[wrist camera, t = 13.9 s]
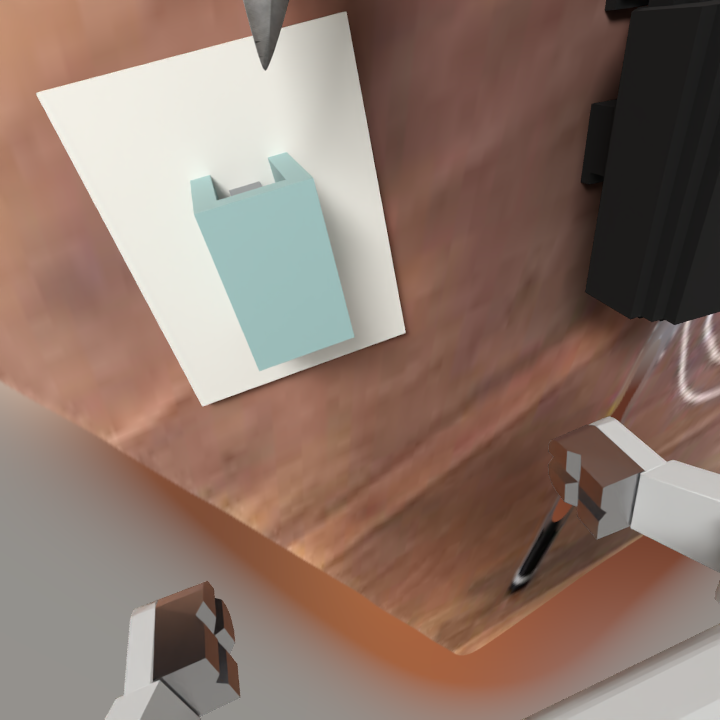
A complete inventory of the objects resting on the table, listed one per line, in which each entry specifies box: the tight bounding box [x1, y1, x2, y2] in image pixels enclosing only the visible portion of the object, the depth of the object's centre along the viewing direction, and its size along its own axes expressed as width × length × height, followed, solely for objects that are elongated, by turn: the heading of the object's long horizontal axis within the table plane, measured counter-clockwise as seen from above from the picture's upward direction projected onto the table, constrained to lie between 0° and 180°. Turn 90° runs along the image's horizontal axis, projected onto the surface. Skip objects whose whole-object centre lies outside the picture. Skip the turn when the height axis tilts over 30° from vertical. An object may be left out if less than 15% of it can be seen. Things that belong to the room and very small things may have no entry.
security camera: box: [581, 0, 720, 325], centre depth 27 cm, size 7×18×10 cm, turn 7°
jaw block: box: [190, 152, 354, 371], centre depth 25 cm, size 5×8×6 cm, turn 13°
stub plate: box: [36, 12, 406, 406], centre depth 26 cm, size 14×18×4 cm
